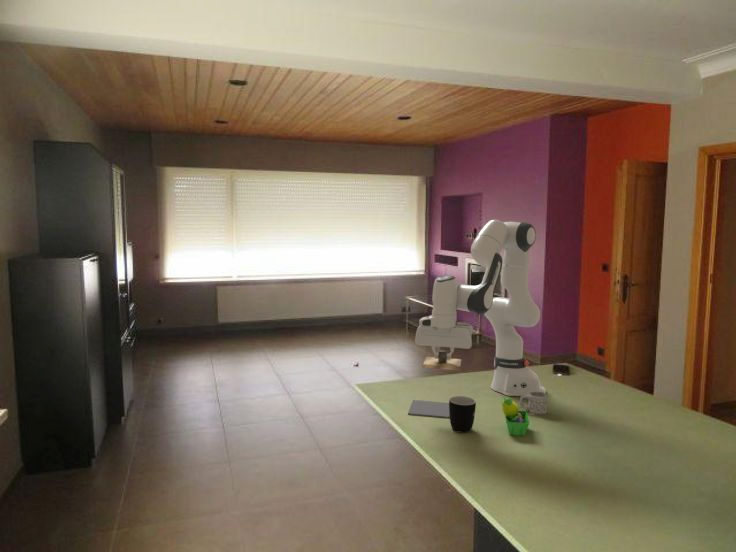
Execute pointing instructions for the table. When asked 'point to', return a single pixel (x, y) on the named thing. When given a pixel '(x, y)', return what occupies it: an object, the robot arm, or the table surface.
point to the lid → (442, 362)
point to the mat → (429, 409)
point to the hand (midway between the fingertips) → (442, 358)
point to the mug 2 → (535, 402)
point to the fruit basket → (515, 418)
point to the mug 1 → (462, 413)
